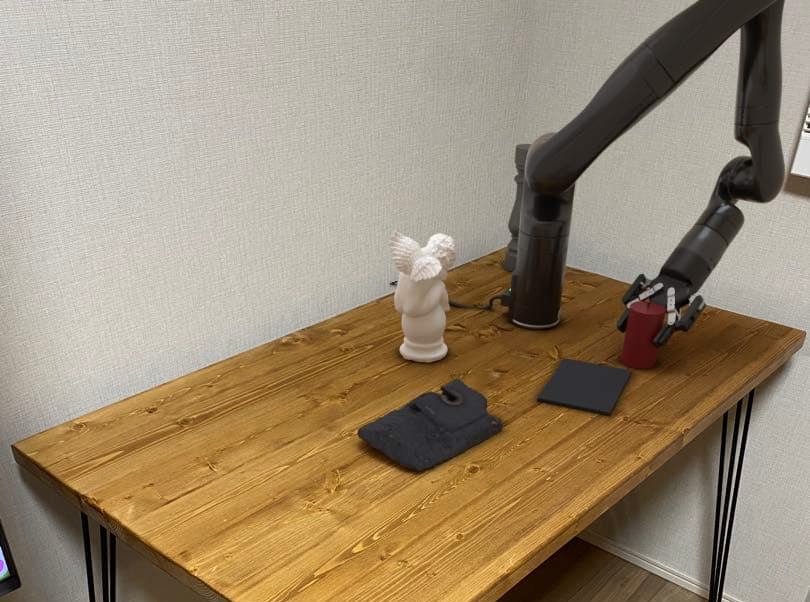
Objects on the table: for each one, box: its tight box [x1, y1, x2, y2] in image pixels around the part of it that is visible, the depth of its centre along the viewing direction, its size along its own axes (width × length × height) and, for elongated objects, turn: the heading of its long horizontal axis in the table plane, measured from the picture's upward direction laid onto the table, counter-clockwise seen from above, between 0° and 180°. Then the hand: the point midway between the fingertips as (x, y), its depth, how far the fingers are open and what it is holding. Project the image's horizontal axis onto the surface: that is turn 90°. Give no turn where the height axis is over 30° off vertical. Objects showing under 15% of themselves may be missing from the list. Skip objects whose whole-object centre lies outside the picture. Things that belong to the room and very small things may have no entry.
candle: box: [620, 300, 666, 370], centre depth 154 cm, size 6×6×11 cm
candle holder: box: [504, 143, 532, 273], centre depth 188 cm, size 6×6×25 cm
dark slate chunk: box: [357, 378, 504, 472], centre depth 133 cm, size 15×22×5 cm
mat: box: [536, 357, 633, 416], centre depth 148 cm, size 12×17×1 cm
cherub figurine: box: [388, 230, 458, 363], centre depth 150 cm, size 12×12×22 cm
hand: (637, 337), depth 153 cm, fingers open, 7 cm apart
